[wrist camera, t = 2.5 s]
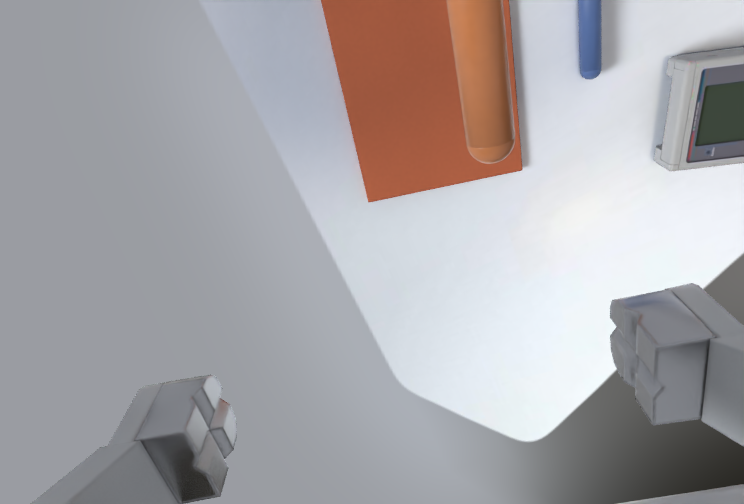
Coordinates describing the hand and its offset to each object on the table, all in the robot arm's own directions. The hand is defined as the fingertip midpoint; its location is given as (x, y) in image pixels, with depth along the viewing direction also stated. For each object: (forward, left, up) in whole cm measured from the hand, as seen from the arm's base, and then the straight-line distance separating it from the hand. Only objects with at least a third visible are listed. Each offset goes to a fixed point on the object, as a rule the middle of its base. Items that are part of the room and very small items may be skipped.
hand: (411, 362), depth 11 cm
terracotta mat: (+4, -1, -36) cm, 36 cm away
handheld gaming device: (+30, -9, -36) cm, 48 cm away
